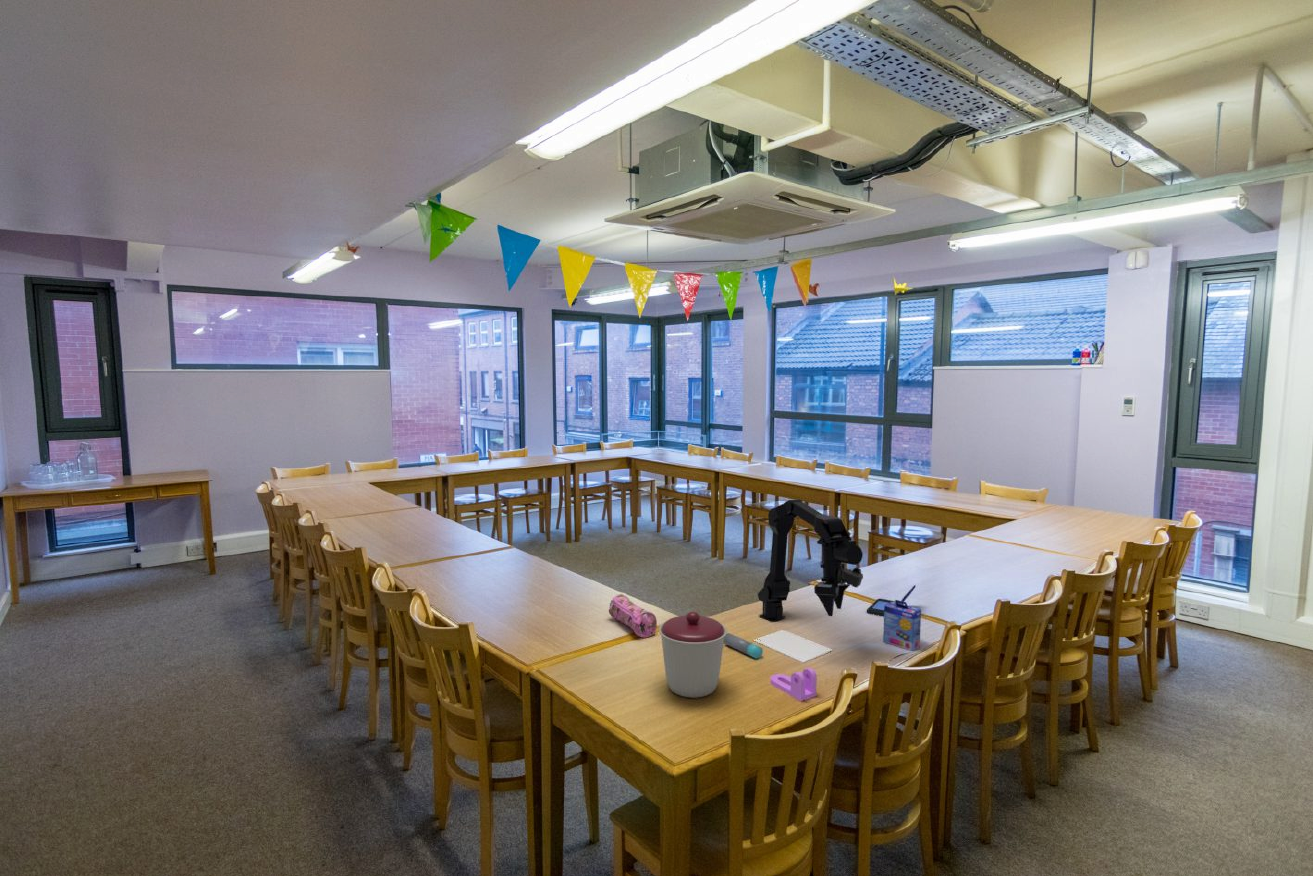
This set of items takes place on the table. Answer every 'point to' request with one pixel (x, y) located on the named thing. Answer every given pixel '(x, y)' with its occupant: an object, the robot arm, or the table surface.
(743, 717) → the table surface
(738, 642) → the marker
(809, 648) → the paper sheet
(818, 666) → the table surface
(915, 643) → the ink cartridge box
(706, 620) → the canister
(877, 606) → the handheld game console
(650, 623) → the pencil case
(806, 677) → the bracket
